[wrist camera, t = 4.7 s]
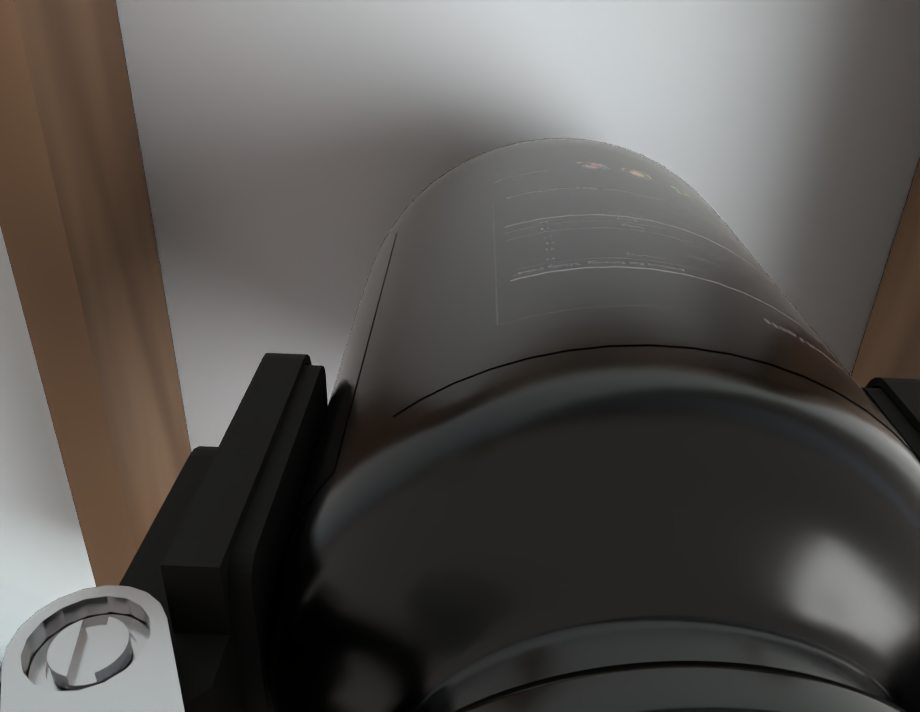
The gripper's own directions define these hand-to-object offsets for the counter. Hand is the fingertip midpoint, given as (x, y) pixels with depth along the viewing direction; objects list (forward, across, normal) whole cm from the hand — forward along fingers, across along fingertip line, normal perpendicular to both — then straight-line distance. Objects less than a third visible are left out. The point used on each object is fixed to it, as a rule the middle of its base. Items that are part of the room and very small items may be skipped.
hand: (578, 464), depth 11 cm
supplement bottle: (+5, 0, 0) cm, 5 cm away
